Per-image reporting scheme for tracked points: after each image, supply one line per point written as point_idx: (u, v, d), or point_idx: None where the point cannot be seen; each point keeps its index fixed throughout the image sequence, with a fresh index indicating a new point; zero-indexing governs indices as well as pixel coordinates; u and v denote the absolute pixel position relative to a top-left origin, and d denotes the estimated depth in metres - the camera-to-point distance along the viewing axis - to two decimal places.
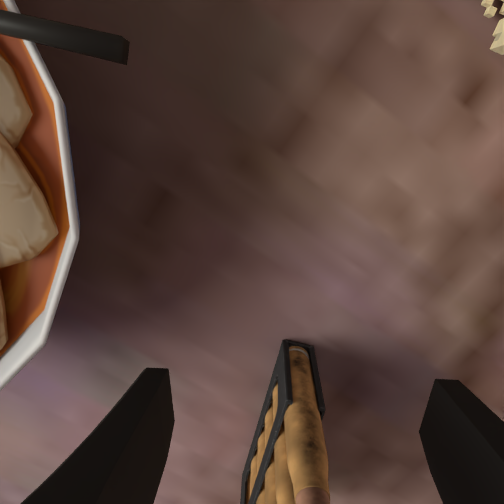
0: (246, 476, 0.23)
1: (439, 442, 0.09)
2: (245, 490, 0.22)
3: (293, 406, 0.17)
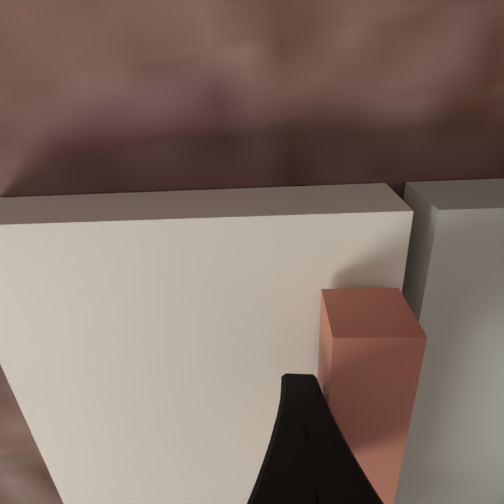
0: None
1: None
2: None
3: None
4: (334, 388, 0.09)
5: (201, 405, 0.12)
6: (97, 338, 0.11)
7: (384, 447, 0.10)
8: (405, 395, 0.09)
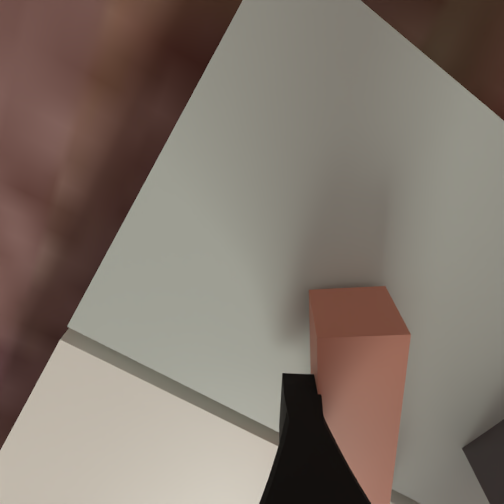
0: None
1: None
2: None
3: None
4: (322, 387, 0.09)
5: None
6: None
7: (376, 445, 0.10)
8: (393, 392, 0.09)
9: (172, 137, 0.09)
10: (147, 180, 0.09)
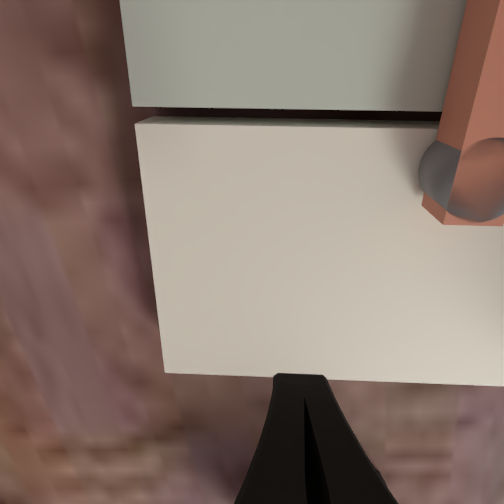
0: None
1: None
2: None
3: None
4: None
5: (302, 270, 0.16)
6: (237, 321, 0.18)
7: None
8: None
9: None
10: None
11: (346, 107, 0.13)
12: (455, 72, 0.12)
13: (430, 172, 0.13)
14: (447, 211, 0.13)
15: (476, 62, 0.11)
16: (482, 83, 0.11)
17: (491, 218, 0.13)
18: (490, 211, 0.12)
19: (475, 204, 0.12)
